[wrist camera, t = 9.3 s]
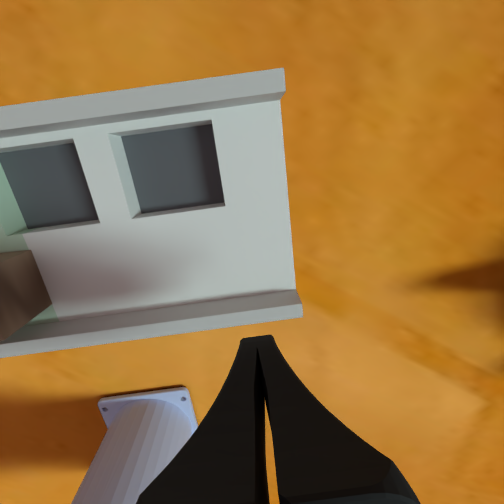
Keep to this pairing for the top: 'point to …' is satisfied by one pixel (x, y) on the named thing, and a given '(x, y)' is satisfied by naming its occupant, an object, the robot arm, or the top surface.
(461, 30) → the top surface
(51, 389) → the top surface
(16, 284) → the walnut block
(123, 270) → the tray
